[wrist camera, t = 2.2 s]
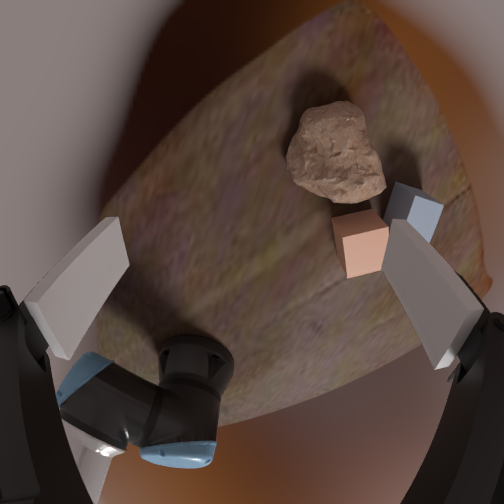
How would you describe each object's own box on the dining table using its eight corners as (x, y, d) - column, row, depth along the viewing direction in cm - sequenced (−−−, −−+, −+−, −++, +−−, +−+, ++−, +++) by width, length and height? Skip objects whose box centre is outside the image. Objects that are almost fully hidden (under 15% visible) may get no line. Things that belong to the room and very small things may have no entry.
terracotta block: (337, 254, 39) (347, 278, 34) (331, 217, 36) (342, 237, 31) (374, 245, 38) (389, 267, 33) (371, 208, 35) (388, 226, 30)
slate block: (380, 226, 36) (396, 246, 31) (394, 181, 33) (415, 195, 28) (406, 232, 37) (424, 252, 32) (422, 190, 33) (443, 205, 28)
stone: (349, 194, 37) (407, 195, 28) (299, 219, 34) (358, 227, 25) (322, 109, 33) (377, 90, 24) (265, 123, 30) (318, 98, 21)
